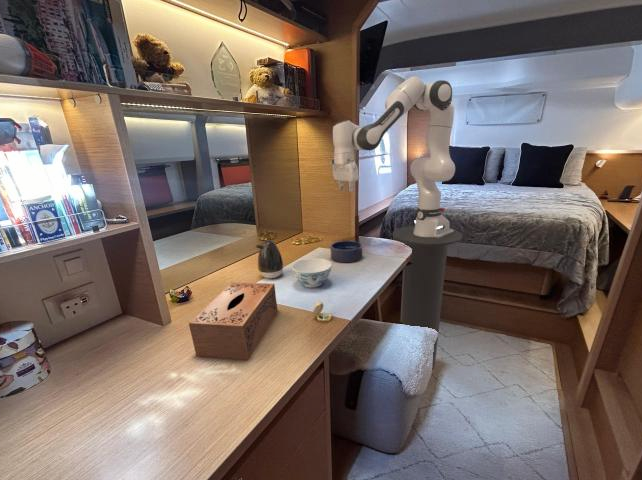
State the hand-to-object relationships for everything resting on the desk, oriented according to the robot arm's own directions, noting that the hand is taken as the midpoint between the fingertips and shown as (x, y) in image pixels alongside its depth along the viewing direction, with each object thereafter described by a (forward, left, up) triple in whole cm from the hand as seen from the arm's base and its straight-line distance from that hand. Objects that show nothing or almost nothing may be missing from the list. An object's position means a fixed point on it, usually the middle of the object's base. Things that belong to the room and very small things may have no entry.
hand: (346, 190), depth 160 cm
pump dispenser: (+47, +13, -28) cm, 56 cm away
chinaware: (+37, +30, -28) cm, 55 cm away
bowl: (+10, +13, -28) cm, 32 cm away
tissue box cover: (+71, +48, -28) cm, 90 cm away
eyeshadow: (+47, +55, -28) cm, 78 cm away
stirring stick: (-3, +3, -28) cm, 28 cm away
